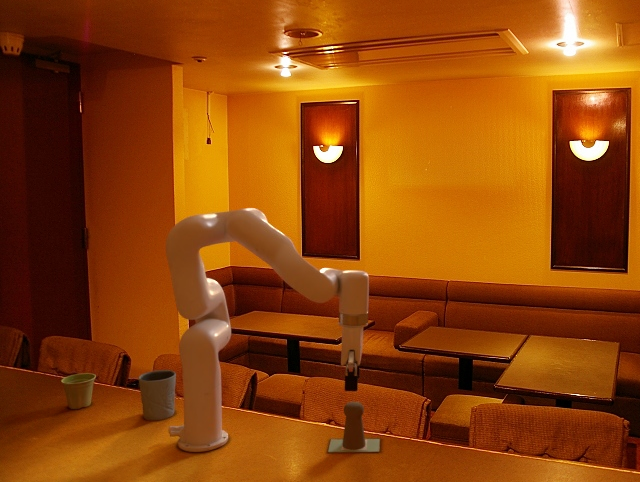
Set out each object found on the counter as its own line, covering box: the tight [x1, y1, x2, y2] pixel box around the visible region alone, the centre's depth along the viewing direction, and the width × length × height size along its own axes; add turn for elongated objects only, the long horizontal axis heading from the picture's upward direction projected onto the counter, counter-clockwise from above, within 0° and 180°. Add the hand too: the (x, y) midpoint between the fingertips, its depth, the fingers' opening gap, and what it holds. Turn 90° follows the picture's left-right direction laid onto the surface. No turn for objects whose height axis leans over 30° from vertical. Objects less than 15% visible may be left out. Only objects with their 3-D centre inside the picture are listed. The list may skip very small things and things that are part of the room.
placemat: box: [327, 438, 381, 454], centre depth 157 cm, size 13×8×1 cm, turn 91°
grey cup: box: [138, 369, 177, 421], centre depth 178 cm, size 10×10×12 cm
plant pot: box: [60, 372, 97, 410], centre depth 186 cm, size 9×9×9 cm
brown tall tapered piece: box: [342, 401, 366, 450], centre depth 157 cm, size 6×6×11 cm
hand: (352, 384), depth 157 cm, fingers open, 9 cm apart
